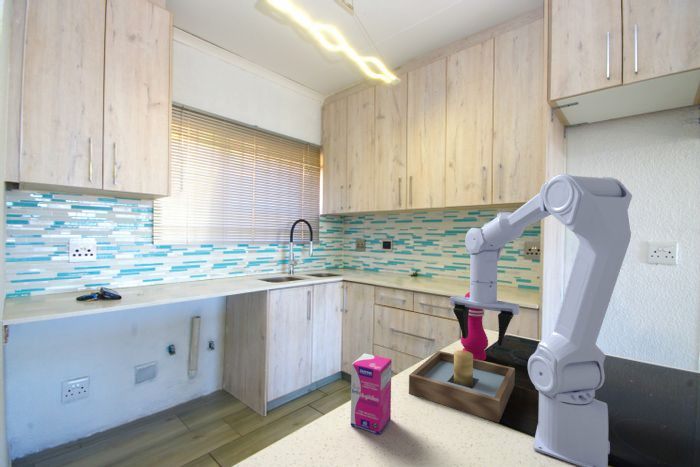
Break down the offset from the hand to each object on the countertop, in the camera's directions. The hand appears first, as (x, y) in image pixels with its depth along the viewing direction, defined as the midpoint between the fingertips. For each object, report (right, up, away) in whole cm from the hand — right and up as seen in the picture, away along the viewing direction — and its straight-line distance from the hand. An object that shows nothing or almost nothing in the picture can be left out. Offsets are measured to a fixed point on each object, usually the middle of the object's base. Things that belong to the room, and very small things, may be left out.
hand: (482, 340), depth 74 cm
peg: (-5, -10, -2) cm, 12 cm away
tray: (-5, -10, -2) cm, 12 cm away
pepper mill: (+5, -11, +17) cm, 21 cm away
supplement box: (-26, -10, -14) cm, 32 cm away
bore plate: (-5, -10, -2) cm, 12 cm away
